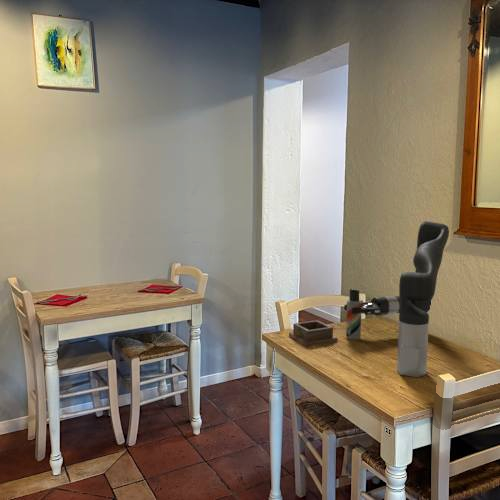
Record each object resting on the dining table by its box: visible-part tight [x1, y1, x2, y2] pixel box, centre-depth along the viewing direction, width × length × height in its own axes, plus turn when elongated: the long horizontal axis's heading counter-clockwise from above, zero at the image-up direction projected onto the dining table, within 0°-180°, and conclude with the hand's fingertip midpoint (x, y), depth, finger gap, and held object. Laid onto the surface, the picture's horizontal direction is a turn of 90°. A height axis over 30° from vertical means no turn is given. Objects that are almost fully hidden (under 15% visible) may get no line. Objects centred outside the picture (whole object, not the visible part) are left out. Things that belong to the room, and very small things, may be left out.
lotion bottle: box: [345, 288, 362, 341], centre depth 194 cm, size 6×6×20 cm
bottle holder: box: [288, 319, 338, 348], centre depth 194 cm, size 14×14×6 cm
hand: (348, 309), depth 193 cm, fingers closed on lotion bottle, 5 cm apart
